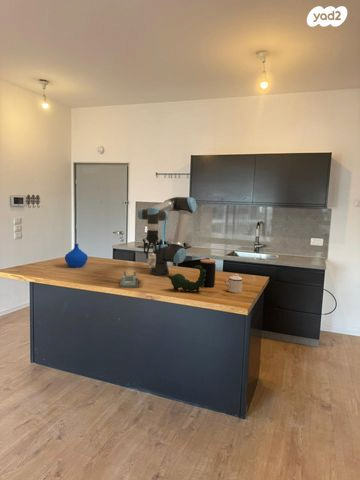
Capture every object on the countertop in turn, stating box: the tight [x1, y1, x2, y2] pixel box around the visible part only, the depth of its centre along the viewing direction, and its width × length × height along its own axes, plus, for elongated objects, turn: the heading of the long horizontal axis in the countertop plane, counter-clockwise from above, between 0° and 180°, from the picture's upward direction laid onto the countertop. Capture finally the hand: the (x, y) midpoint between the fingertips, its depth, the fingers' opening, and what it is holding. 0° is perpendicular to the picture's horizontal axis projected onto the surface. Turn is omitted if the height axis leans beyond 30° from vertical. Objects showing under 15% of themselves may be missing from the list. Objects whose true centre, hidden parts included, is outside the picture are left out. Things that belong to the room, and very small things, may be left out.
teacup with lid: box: [223, 273, 244, 294], centre depth 221 cm, size 12×9×12 cm
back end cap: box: [123, 270, 137, 279], centre depth 238 cm, size 8×3×6 cm, turn 97°
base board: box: [119, 277, 139, 289], centre depth 229 cm, size 12×22×2 cm, turn 7°
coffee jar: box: [199, 258, 217, 288], centre depth 231 cm, size 11×11×18 cm
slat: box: [148, 252, 155, 268], centre depth 229 cm, size 4×22×6 cm, turn 7°
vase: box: [64, 243, 89, 268], centre depth 279 cm, size 18×18×19 cm
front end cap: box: [122, 275, 137, 285], centre depth 220 cm, size 8×3×6 cm, turn 97°
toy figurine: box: [166, 265, 206, 293], centre depth 215 cm, size 9×19×25 cm
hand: (151, 263), depth 230 cm, fingers closed on slat, 4 cm apart
